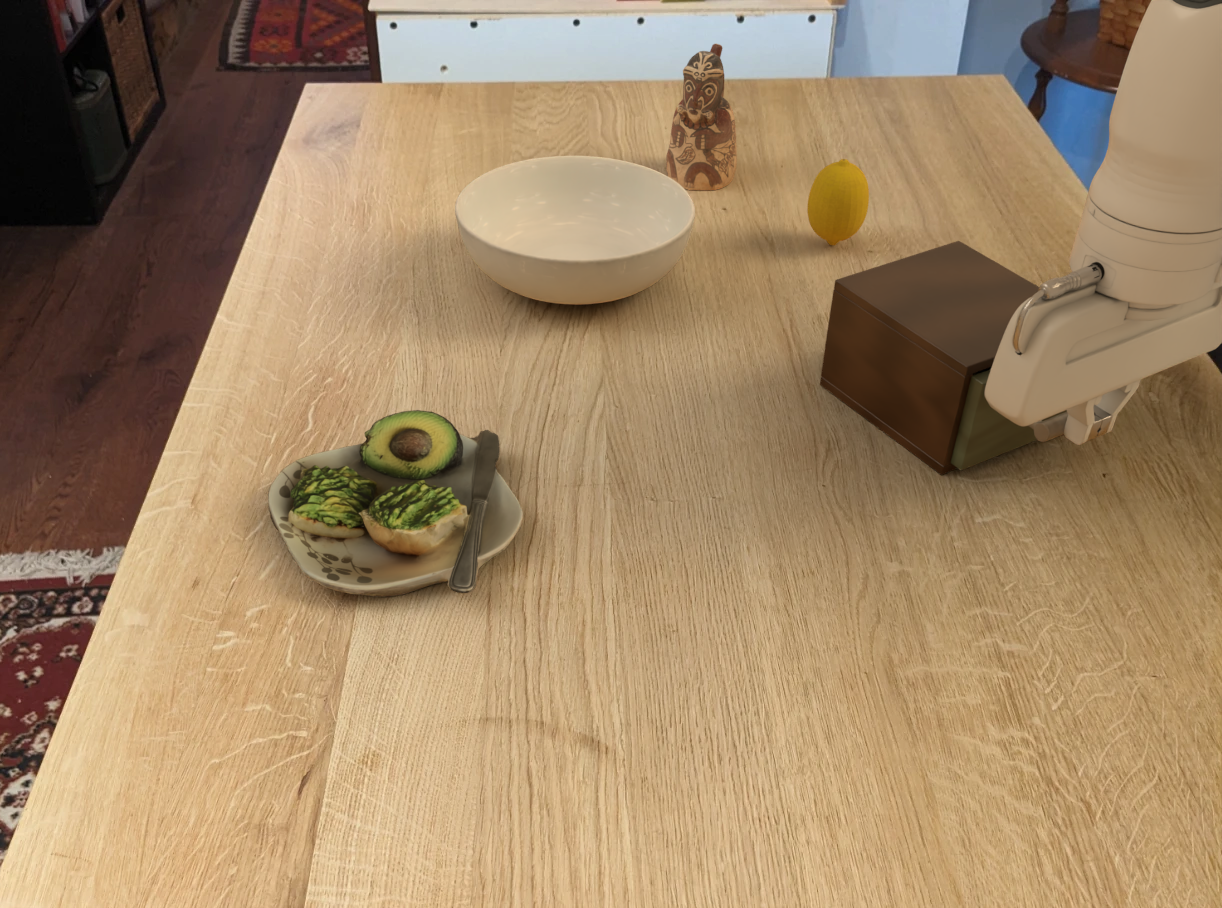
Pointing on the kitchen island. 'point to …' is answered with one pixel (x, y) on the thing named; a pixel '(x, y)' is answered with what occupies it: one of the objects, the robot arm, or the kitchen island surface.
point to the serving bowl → (575, 227)
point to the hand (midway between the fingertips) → (1085, 435)
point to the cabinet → (919, 342)
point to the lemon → (838, 201)
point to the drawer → (995, 429)
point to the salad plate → (397, 508)
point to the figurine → (703, 127)
